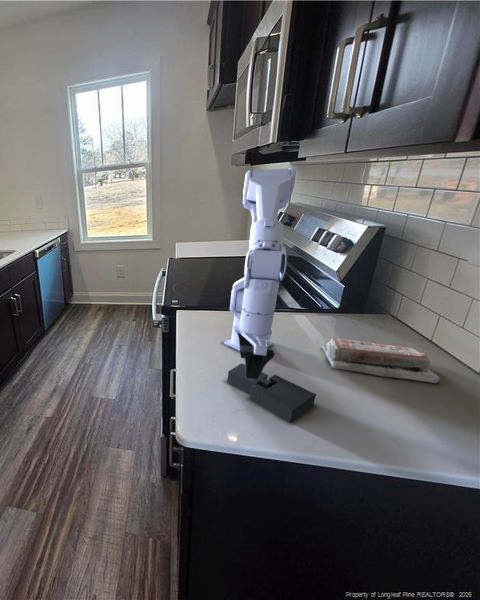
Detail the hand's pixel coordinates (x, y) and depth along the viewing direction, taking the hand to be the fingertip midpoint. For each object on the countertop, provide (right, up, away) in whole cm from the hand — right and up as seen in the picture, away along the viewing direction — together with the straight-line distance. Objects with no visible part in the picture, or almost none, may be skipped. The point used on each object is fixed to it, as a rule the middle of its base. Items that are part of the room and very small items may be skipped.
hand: (248, 367), depth 68 cm
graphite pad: (0, -4, +2) cm, 4 cm away
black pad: (+4, -6, -5) cm, 9 cm away
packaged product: (+32, -1, +5) cm, 32 cm away
